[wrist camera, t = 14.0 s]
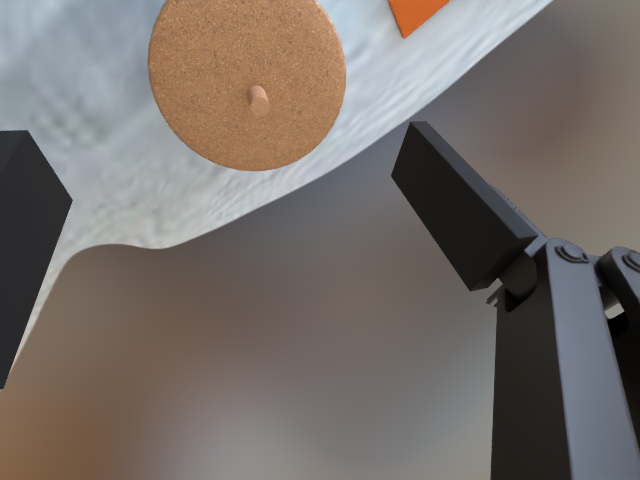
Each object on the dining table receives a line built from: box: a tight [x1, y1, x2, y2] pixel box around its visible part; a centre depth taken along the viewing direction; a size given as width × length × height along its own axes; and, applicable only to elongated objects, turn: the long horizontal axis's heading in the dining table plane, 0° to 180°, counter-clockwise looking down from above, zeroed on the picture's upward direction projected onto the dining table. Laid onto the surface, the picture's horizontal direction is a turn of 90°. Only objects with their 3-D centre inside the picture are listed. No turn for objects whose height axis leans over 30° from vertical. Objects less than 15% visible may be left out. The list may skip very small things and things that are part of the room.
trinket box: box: [148, 0, 346, 171], centre depth 19 cm, size 11×11×9 cm
